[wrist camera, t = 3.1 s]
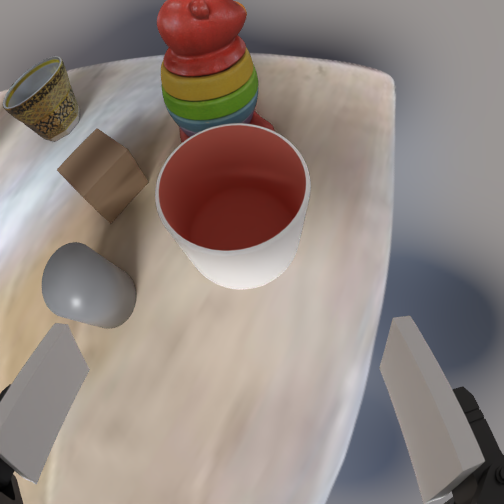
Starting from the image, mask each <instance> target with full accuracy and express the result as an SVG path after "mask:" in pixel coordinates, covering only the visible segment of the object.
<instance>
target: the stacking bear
mask: <svg viewBox="0 0 504 504" xmlns="http://www.w3.org/2000/svg"><path fill="white" fill-rule="evenodd" d="M246 15H247V12H246V9H245V7H244V6H243V5H242V4H240V3H239V2H236V1H233V0H167V1H166V2H165V3H164V4H163V6H162V7H161V9H160V11H159V14H158V17H157V26H158V30H159V33H160V35H161V37H162V38H163V40H164V42H165V43H166V44H167V45H168V47H169V48H168V50H167V51H166V53H165V56H164V60H163V62H162V65H161V81H162V93H163V98H164V102H165V105H166V107H167V110H168V112H169V113H170V115H171V117H172V118H173V119H174V121H175V122H176V123H177V124H178V126H179V127H180V138H181V141H182V143H183V142H184V141H185V140H187V139H188V138H190V137H191V136H193V135H195V134H197V133H199V132H201V131H203V130H205V129H208V128H211V127H215V126H219V125H225V124H234V123H243V124H252V125H257V126H261V127H264V128H267V129H270V130H272V131H274V132H275V130H274V128H273V126H272V125H271V124H270V123H269V122H268V121H266V120H264V119H263V118H262V117H260V116H259V115H258V114H257V113H256V112H255V111H254V109H255V106H256V102H257V96H258V78H257V73H256V70H255V67H254V64H253V62H252V59H251V56H250V54H249V51H248V49H247V48H246V45H245V43H244V41H243V40H242V39H241V38H240V37H239V36H238V33H239V32H240V31H241V29H242V27H243V25H244V22H245V19H246Z"/></svg>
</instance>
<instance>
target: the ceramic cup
mask: <svg viewBox="0 0 504 504" xmlns="http://www.w3.org/2000/svg"><path fill="white" fill-rule="evenodd" d="M3 108H4V109H5V110H6V111H7V112H8V113H9V114H11V115H12V116H13V117H15V118H16V119H17V120H19V121H21V122H23V123H24V124H25V125H26V126H28V127H29V128H30V129H32V130H33V131H34V132H36V133H37V134H38V135H40V136H41V137H42V138H44V139H46V140H50V141H54V142H55V141H57V140H59V139H61V138H62V137H64V136H66V135H68V134H69V133H70V132H71V131H72V129H73V128H74V127H75V126H76V124H77V123H78V122H79V107H78V104H77V101H76V99H75V96H74V93H73V91H72V88H71V85H70V83H69V78H68V75H67V72H66V69H65V66H64V63H63V61H62V59H61V58H60V57H58V56H54V57H50V58H47V59H45V60H43V61H41V62H39V63H37V64H36V65H34V66H33V67H31V68H30V69H29V70H27V71H26V72H25V73H24V74H23V75H22V76H21V77H20V78H19V79H18V80H17V81H16V82H15V83H14V84H13V85H12V86H11V88H10V89H9V91H8V92H7V94H6V96H5V98H4V101H3Z"/></svg>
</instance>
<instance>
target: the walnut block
mask: <svg viewBox="0 0 504 504" xmlns="http://www.w3.org/2000/svg"><path fill="white" fill-rule="evenodd" d="M57 171H58V172H59V173H60V174H61V175H62V176H63V177H64V178H65V179H66V180H67V181H68V182H69V183H70V184H71V185H72V186H73V187H74V188H75V190H76V191H77V192H78V193H79V194H80V195H81V196H82V197H83V198H84V199H85V200H86V201H87V202H88V203H89V204H90V205H92V206H93V207H94V208H95V209H96V210H97V211H98V212H99V213H100V214H101V215H102V216H103V217H104V218H105V219H106V220H107V221H108V222H109V223H110V224H111V223H112V222H113V221H114V220H115V219H116V217H117V216H118V215H119V214H120V213H121V212H122V211H123V210H124V208H125V207H126V206H127V205H128V204H129V203H130V202H131V201H132V200H133V199H134V197H135V196H136V195H137V194H138V193H139V192H140V191H141V190H142V189H143V188H144V187H145V186H146V185H147V184H148V183H149V182H148V181H147V179H146V177H145V176H144V174H143V173H142V171H141V169H140V168H139V166H138V165H137V163H136V161H135V160H134V158H133V157H132V155H131V153H130V152H129V150H128V149H127V148H125V147H124V146H122V145H121V144H119V143H118V142H116V141H115V140H113V139H112V138H111V137H109V136H108V135H106V134H105V133H103V132H102V131H100V130H99V129H96V130H95V131H94V132H93V133H92V134H91V135H90V136H89V137H88V138H87V139H86V140H85V141H84V142H83V143H82V144H81V145H80V146H79V147H78V148H77V149H76V150H75V151H74V152H73V153H72V154H71V155H70V156H69V157H68V158H67V159H66V160H65V161H64V162H63V164H62V165H61V166H60V167H59V168H58V169H57Z"/></svg>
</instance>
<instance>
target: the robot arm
mask: <svg viewBox="0 0 504 504" xmlns="http://www.w3.org/2000/svg"><path fill="white" fill-rule="evenodd" d="M89 370H90V369H89V367H88V366H87V364H86V362H85V360H84V358H83V356H82V354H81V352H80V350H79V348H78V346H77V344H76V342H75V339H74V337H73V335H72V333H71V331H70V329H69V326H68V324H59V323H55V324H54V325H53V326H52V328H51V329H50V330H49V332H48V333H47V334H46V336H45V337H44V338H43V340H42V341H41V342H40V344H39V345H38V347H37V348H36V349H35V351H34V352H33V354H32V355H31V356H30V358H29V359H28V361H27V362H26V364H25V365H24V366H23V368H22V369H21V371H20V372H19V374H18V375H17V377H16V378H15V380H14V381H13V383H12V384H10V385H9V386H8V387H6V388H5V389H4V390H3V391H2V392H1V394H0V504H23V501H22V498H21V494H20V490H19V486H18V482H17V479H16V477H15V476H14V475H13V473H14V471H16V472H17V473H18V474H19V475H20V476H22V477H23V478H25V479H27V480H29V481H31V482H33V483H35V484H37V482H38V480H39V477H40V475H41V472H42V470H43V467H44V465H45V462H46V460H47V458H48V455H49V453H50V451H51V448H52V446H53V444H54V442H55V439H56V437H57V435H58V433H59V431H60V428H61V426H62V424H63V422H64V420H65V418H66V416H67V414H68V411H69V409H70V407H71V405H72V403H73V401H74V399H75V397H76V395H77V393H78V391H79V389H80V387H81V385H82V383H83V381H84V379H85V378H86V376H87V374H88V372H89ZM380 371H381V374H382V376H383V379H384V381H385V384H386V387H387V390H388V392H389V395H390V398H391V401H392V403H393V406H394V409H395V412H396V415H397V418H398V421H399V424H400V427H401V430H402V433H403V436H404V439H405V442H406V445H407V448H408V452H409V455H410V458H411V461H412V465H413V468H414V471H415V475H416V478H417V482H418V486H419V489H420V492H421V497H422V500H423V504H427V503H430V502H433V501H435V500H438V499H441V498H443V497H445V496H446V495H447V494H448V493H450V492H451V491H452V494H453V497H452V498H451V499H450V500H448V501H447V502H445V503H444V504H504V455H503V454H502V452H501V451H500V449H499V447H498V445H497V442H496V440H495V438H494V436H493V434H492V432H491V430H490V427H489V426H488V423H487V421H486V419H484V415H483V413H482V412H481V410H479V406H478V404H477V402H476V400H475V398H474V396H473V395H472V394H471V393H470V392H469V391H467V390H466V389H465V388H464V387H459V388H456V389H453V390H452V388H451V386H450V385H449V383H448V381H447V379H446V377H445V375H444V373H443V372H442V370H441V368H440V366H439V364H438V362H437V360H436V359H435V357H434V355H433V353H432V352H431V350H430V348H429V346H428V345H427V343H426V341H425V339H424V338H423V336H422V334H421V333H420V331H419V329H418V328H417V326H416V324H415V323H414V321H413V319H412V318H411V316H404V317H396V318H393V320H392V324H391V328H390V332H389V335H388V340H387V343H386V347H385V350H384V354H383V357H382V361H381V364H380Z"/></svg>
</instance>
